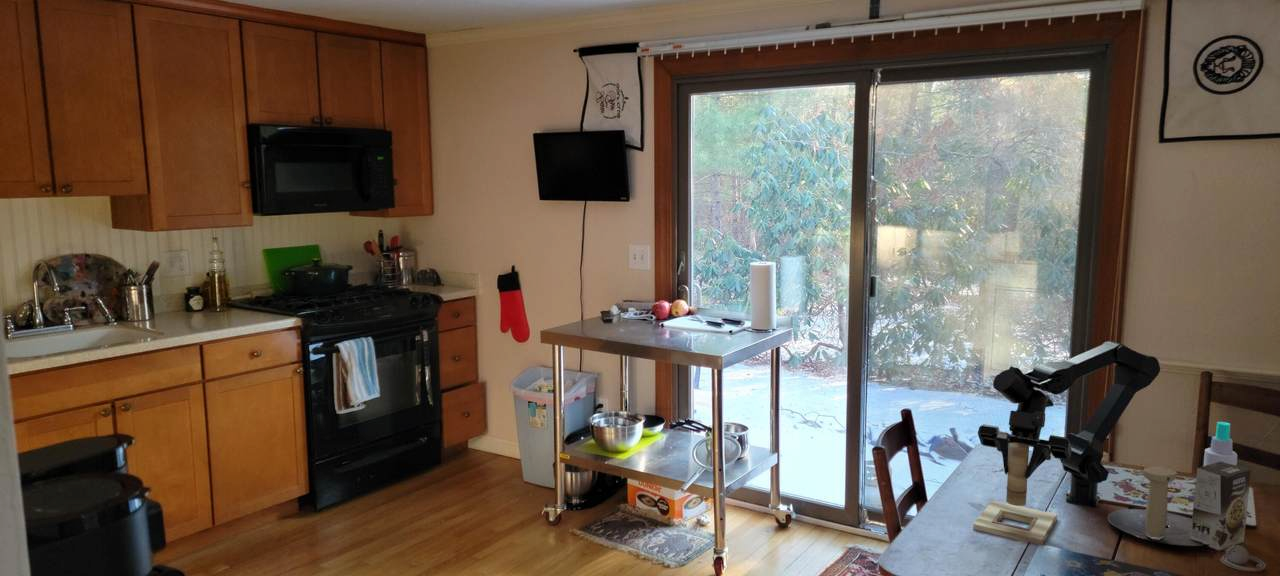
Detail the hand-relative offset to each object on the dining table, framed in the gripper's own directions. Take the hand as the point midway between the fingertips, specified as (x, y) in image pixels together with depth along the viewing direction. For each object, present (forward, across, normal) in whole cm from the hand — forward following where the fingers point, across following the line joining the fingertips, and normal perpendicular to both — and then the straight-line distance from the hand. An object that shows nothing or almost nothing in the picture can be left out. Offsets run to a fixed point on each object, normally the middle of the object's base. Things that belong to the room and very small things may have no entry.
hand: (1016, 475), depth 190 cm
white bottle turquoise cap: (-13, +36, +31) cm, 49 cm away
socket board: (+7, 0, +10) cm, 12 cm away
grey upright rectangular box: (-3, +37, +21) cm, 43 cm away
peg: (+4, 0, +6) cm, 7 cm away
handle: (+1, +26, +17) cm, 31 cm away
